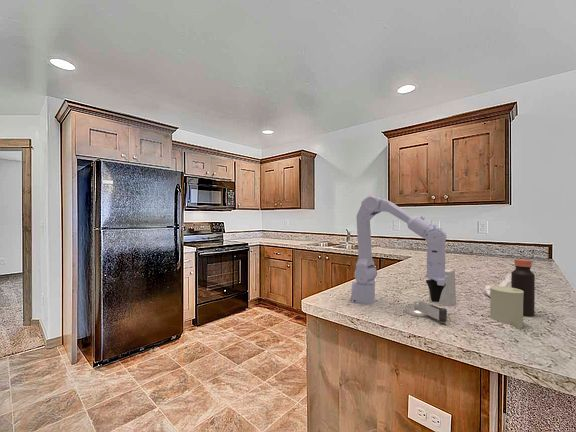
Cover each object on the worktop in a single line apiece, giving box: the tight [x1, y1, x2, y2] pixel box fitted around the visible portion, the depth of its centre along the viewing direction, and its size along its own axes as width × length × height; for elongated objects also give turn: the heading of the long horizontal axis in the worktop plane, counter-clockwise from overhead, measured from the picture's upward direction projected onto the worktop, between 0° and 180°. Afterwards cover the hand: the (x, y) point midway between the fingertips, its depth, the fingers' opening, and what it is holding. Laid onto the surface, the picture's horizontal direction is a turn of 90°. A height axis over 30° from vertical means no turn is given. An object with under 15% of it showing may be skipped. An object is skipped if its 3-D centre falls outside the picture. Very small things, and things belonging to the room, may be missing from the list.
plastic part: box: [483, 271, 512, 298], centre depth 128 cm, size 8×10×12 cm
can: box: [489, 285, 525, 329], centre depth 97 cm, size 9×9×12 cm
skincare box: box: [428, 268, 457, 307], centre depth 115 cm, size 8×6×15 cm
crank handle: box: [403, 300, 448, 323], centre depth 99 cm, size 17×9×5 cm, turn 17°
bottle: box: [510, 258, 536, 317], centre depth 107 cm, size 7×7×20 cm
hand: (435, 301), depth 100 cm, fingers closed
